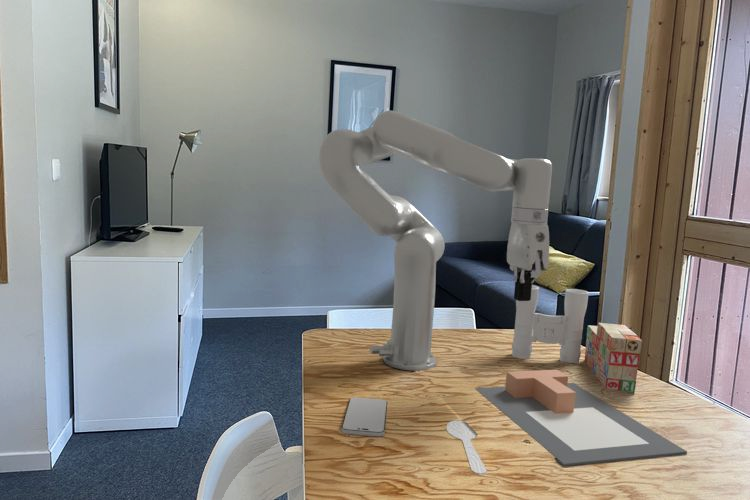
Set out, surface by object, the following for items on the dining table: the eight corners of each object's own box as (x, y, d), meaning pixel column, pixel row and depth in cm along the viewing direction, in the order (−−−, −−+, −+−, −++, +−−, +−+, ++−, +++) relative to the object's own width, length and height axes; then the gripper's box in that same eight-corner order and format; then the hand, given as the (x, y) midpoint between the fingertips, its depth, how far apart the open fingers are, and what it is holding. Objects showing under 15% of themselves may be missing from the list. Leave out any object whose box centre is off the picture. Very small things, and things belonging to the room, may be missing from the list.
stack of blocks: (583, 360, 141) (588, 313, 139) (609, 362, 140) (614, 315, 138) (604, 391, 120) (611, 336, 118) (635, 394, 119) (642, 339, 117)
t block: (536, 414, 104) (539, 394, 103) (505, 390, 115) (506, 371, 115) (591, 410, 107) (593, 391, 107) (554, 387, 119) (556, 369, 118)
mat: (563, 466, 86) (563, 463, 86) (474, 389, 115) (474, 388, 115) (686, 453, 93) (687, 451, 93) (572, 384, 122) (573, 382, 122)
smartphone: (387, 399, 107) (384, 432, 92) (387, 405, 107) (384, 439, 92) (350, 396, 107) (340, 429, 92) (349, 402, 107) (340, 435, 92)
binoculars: (510, 358, 138) (517, 287, 136) (509, 351, 144) (516, 283, 141) (582, 366, 135) (590, 294, 133) (578, 359, 141) (586, 290, 138)
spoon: (462, 475, 82) (463, 472, 82) (442, 421, 100) (443, 419, 100) (498, 476, 82) (498, 473, 82) (471, 423, 100) (472, 420, 100)
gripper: (565, 220, 113) (557, 308, 115) (526, 214, 127) (519, 292, 129) (533, 219, 111) (525, 308, 113) (496, 213, 125) (490, 293, 127)
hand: (522, 299), depth 121 cm, fingers closed
